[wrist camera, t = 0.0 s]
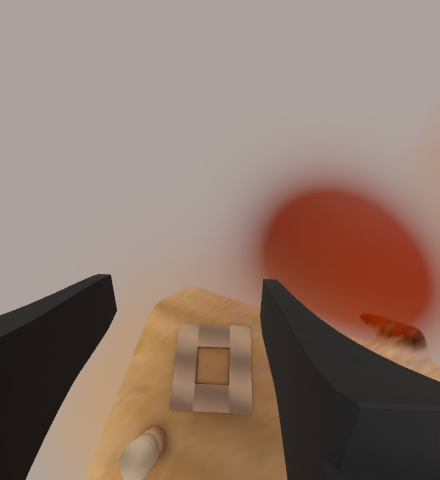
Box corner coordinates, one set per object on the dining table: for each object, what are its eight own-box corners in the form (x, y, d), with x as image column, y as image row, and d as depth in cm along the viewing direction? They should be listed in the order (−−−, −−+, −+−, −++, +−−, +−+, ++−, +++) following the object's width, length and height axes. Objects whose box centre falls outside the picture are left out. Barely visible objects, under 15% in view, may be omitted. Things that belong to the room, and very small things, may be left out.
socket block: (251, 412, 35) (252, 414, 34) (171, 408, 36) (169, 410, 34) (249, 327, 41) (250, 326, 40) (180, 324, 41) (179, 323, 40)
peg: (164, 459, 33) (148, 484, 26) (138, 457, 33) (115, 482, 26) (168, 426, 35) (153, 441, 28) (143, 425, 35) (123, 440, 28)
